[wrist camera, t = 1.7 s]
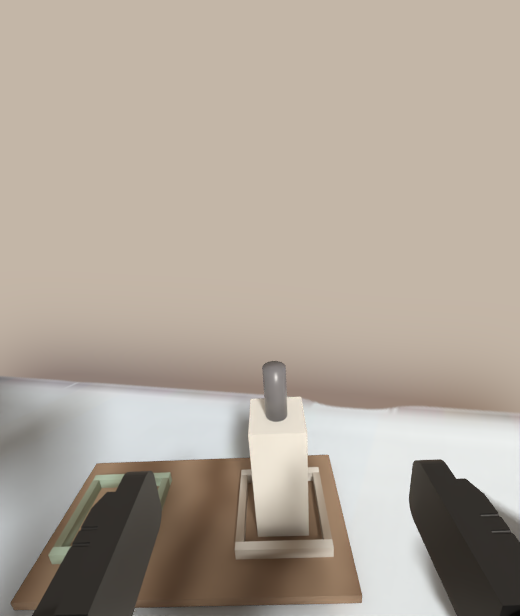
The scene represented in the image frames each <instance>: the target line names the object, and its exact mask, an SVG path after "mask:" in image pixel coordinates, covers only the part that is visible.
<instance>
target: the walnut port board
mask: <svg viewBox="0 0 520 616" xmlns="http://www.w3.org/2000/svg"><path fill="white" fill-rule="evenodd" d="M135 471H152V472H153V473H154V477H155V481H156V485H157V490H158V494H159V498H160V502H161V508H162V516H161V524H160V528H159V532H158V535H157V538H156V541H155V544H154V548H153V551H152V554H151V557H150V560H149V564H148V567H147V570H146V573H145V576H144V580H143V583H142V586H141V589H140V592H139V596H138V599H137V602H136V605H135V608H141V607H189V606H238V605H286V604H334V603H362V593H361V588H360V584H359V580H358V576H357V572H356V568H355V563H354V559H353V555H352V551H351V547H350V542H349V538H348V534H347V530H346V526H345V522H344V517H343V513H342V509H341V505H340V501H339V497H338V492H337V488H336V484H335V480H334V476H333V472H332V467H331V463H330V459H329V455H311V456H308V512H309V536H274V537H258V533H257V522H256V512H255V501H254V491H253V481H252V470H251V460H250V458H232V459H205V460H179V461H152V462H126V463H99V464H96V466H95V467H94V469H93V470H92V472H91V474H90V475H89V477H88V479H87V480H86V482H85V483H84V485H83V487H82V488H81V490H80V491H79V493H78V495H77V496H76V498H75V499H74V501H73V503H72V504H71V506H70V508H69V509H68V511H67V512H66V514H65V516H64V517H63V519H62V520H61V522H60V524H59V525H58V527H57V529H56V530H55V532H54V533H53V535H52V537H51V538H50V540H49V541H48V543H47V545H46V546H45V548H44V550H43V551H42V553H41V554H40V556H39V558H38V559H37V561H36V562H35V564H34V566H33V567H32V569H31V571H30V572H29V574H28V575H27V577H26V579H25V580H24V582H23V583H22V585H21V587H20V588H19V590H18V592H17V593H16V595H15V596H14V598H13V600H12V601H11V605H12V607H13V609H14V610H36V608H37V606H38V604H39V603H40V601H41V599H42V597H43V595H44V594H45V592H46V590H47V588H48V586H49V584H50V583H51V581H52V579H53V577H54V575H55V574H56V572H57V570H58V568H59V566H60V564H61V563H62V561H63V559H64V557H65V555H66V554H67V552H68V550H69V548H70V547H72V543H73V541H74V539H75V537H76V535H77V534H78V532H79V531H80V530H81V526H82V524H83V523H84V521H85V519H86V517H87V515H88V514H89V512H90V510H91V508H92V507H93V506H94V505H95V504H96V503H97V502H98V501H99V500H100V499H101V498H102V497H103V496H104V495H105V493H106V492H116V490H117V488H118V486H119V484H120V482H121V480H122V478H123V476H124V474H125V473H126V472H135Z"/></svg>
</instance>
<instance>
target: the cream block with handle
mask: <svg viewBox="0 0 520 616" xmlns="http://www.w3.org/2000/svg"><path fill="white" fill-rule="evenodd" d="M262 369H263V382H264V397H265V398H264V399H251V402H250V416H249V430H248V439H249V449H250V460H251V470H252V481H253V491H254V501H255V512H256V522H257V533H258V537H274V536H309V512H308V453H307V429H306V423H305V417H304V412H303V406H302V400H301V397H287V393H286V368H285V365H284V364H283V363H282V362H278V361H271V362H267V363H265V364H264V365H263V368H262Z"/></svg>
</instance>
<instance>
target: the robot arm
mask: <svg viewBox="0 0 520 616" xmlns="http://www.w3.org/2000/svg"><path fill="white" fill-rule="evenodd" d="M409 504H410V510H411V514H412V517H413V520H414V522H415V524H416V526H417V529H418V531H419V533H420V535H421V537H422V540H423V542H424V544H425V546H426V548H427V551H428V553H429V555H430V557H431V559H432V561H433V564H434V566H435V568H436V570H437V572H438V575H439V577H440V579H441V581H442V583H443V586H444V588H445V590H446V592H447V594H448V597H449V599H450V601H451V603H452V605H453V607H454V610H455V612H456V614H457V616H520V542H519V541H518V540H517V538H516V537H515V535H514V534H512V533H511V532H510V529H509V527H508V526H507V524H506V523H505V522H504V520H503V519H502V518H501V517H499V515H498V512H497V511H496V509H495V508H494V507H493V505H492V504H491V503H490V501H489V500H488V498H487V497H486V496H485V494H484V493H482V492H481V491H480V490H479V489H477V488H476V487H475V486H474V485H473V484H471V483H470V482H469V481H468V480H467V479H456V478H455V476H454V475H453V473H452V472H451V471H450V469H449V468H448V466H447V465H446V463H445V462H444V461H443V460H417V461H414V463H413V468H412V476H411V485H410V493H409ZM161 516H162V508H161V502H160V498H159V494H158V490H157V485H156V481H155V477H154V473H153V472H152V471H135V472H126V473H125V474H124V476H123V478H122V480H121V482H120V484H119V486H118V488H117V490H116V492H106V493H105V495H104V496H103V497H102V498H101V499H100V500H99V501H98V502H97V503H96V504H95V505H94V506H93V507H92V508H91V510H90V512H89V514H88V515H87V517H86V519H85V521H84V523H83V524H82V526H81V530H80V531H79V532H78V534H77V535H76V537H75V539H74V541H73V543H72V547H70V548H69V550H68V552H67V554H66V555H65V557H64V559H63V561H62V563H61V564H60V566H59V568H58V570H57V572H56V574H55V575H54V577H53V579H52V581H51V583H50V584H49V586H48V588H47V590H46V592H45V594H44V595H43V597H42V599H41V601H40V603H39V604H38V606H37V608H36V610H35V612H34V613H33V615H32V616H132V615H133V611H134V608H135V605H136V602H137V599H138V596H139V592H140V589H141V586H142V583H143V580H144V576H145V573H146V570H147V567H148V564H149V560H150V557H151V554H152V551H153V548H154V544H155V541H156V538H157V535H158V532H159V528H160V524H161Z"/></svg>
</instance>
